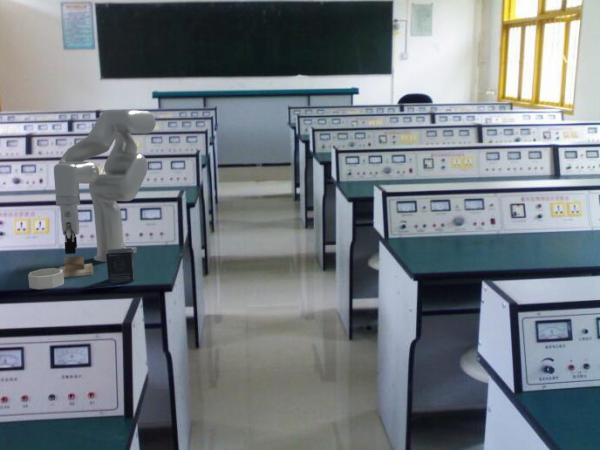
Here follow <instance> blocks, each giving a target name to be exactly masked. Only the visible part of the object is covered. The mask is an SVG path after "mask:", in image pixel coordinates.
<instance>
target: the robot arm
mask: <svg viewBox="0 0 600 450" xmlns="http://www.w3.org/2000/svg"><path fill="white" fill-rule="evenodd" d="M156 122H157V121H156V118H155V116H154V114H153V113H152V112H150V111H148V110H135V109H107V110H105V111H103V112H102V113H101V114H100V115H99V117H98V118H97V120H96V122H95V124H94V125H93V127H92V129H91V130H90V132H89V133H88V135H87V136H86V137H84V138H83V139H81V140H79V141H78V142H77V143H75V144H74V145H72V146H71V147H69V148H68V149H67V150H66V151H65V152H64V153H63V155H62V157H61V158H60V160H59V161H58V163H57V164H55V165H54V166H53V178H54V192H55V204H56V206H57V207H60V209H59V210H60V211H59V212H60V223H61V230H62V235H63V236H64V253H65V255H73V254H76V252H77V251H76V249H77V248H78V243H77V240H78V239H77V236H78V235H79V234H80V223H79V222H80V221H79V220H80V219H79V211H78V206H80V205H81V199H80V197H81V195H80V184H81V185H82V184H86V185H87V184H88V188H89V189H88V190H89V194H90V198H91V202H92V205H93V213H94V225H95V226H94V227H95V236H96V238H95V239H96V249H97V250H96V251H97V254H96V255H94V256H93V260H94V261H95V262H104V263H107V259H106V253H107V251H108V250H110V249H125V248H132V249H133V254H134V253H137V251H138V250H137V247H133V246H129V247H128V246H125V244H124V233H123V232H124V231H123V219H122V216H123V215H122V210H121V208H120V205H119V204H118V202H130V201H132V200H134V198H136V196H137V194H138V192H139V191H140V188H141V186H142V184H143V182H144V180H145V179H146V175H147V172H148V161H147V158H146V157H145V155H143V154H141V153H137V151H138V147H137V143H136V142H135V140H134V139H133V137H132V134H150V133H152V132H153V131H154V130H155V127H156ZM113 143H114V145H113ZM112 145H113V147H112ZM111 147H112V149H111V151H110V152H109V155H108V156H107V159H106V161H105V162H104V168H103V170H104V173H103V174H100V170H99V167H98V166H97V165H96V163H93V162H91V161H87V160H89V159H91V158H94V157H97V156H100V155H103V154H105V153H106V152H108V151H109V150H110V148H111Z"/></svg>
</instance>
